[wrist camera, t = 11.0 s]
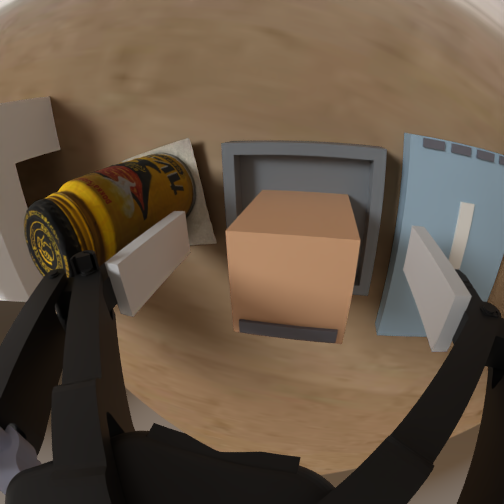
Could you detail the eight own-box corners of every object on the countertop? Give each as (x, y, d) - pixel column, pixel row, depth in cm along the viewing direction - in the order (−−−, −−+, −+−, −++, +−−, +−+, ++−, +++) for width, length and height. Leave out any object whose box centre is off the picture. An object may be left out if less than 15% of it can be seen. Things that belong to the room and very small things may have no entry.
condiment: (190, 137, 19) (49, 175, 9) (217, 242, 23) (117, 341, 13) (123, 160, 22) (4, 206, 12) (150, 248, 25) (54, 323, 15)
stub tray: (230, 141, 20) (221, 143, 18) (380, 146, 17) (386, 149, 15) (238, 270, 24) (230, 283, 22) (365, 281, 22) (367, 295, 20)
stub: (262, 189, 20) (224, 232, 13) (347, 194, 19) (360, 242, 11) (263, 264, 23) (232, 333, 15) (340, 271, 21) (342, 346, 14)
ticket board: (404, 132, 16) (411, 134, 15) (510, 157, 14) (522, 161, 12) (375, 323, 23) (377, 336, 22) (466, 325, 21) (472, 337, 19)
